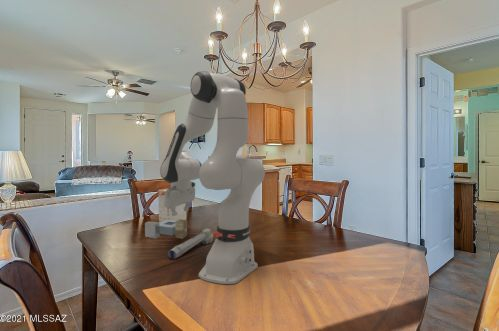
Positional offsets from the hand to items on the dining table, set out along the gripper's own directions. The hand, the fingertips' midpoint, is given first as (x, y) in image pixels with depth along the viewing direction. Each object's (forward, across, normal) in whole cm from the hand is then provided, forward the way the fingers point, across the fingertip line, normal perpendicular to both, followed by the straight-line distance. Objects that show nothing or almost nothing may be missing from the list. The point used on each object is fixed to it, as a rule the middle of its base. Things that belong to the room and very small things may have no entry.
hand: (180, 213), depth 129 cm
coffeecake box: (+12, +22, +20) cm, 32 cm away
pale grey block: (+12, -5, +12) cm, 18 cm away
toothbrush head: (+12, -12, -15) cm, 22 cm away
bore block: (+12, +6, +10) cm, 17 cm away
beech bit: (+12, 0, -1) cm, 12 cm away
